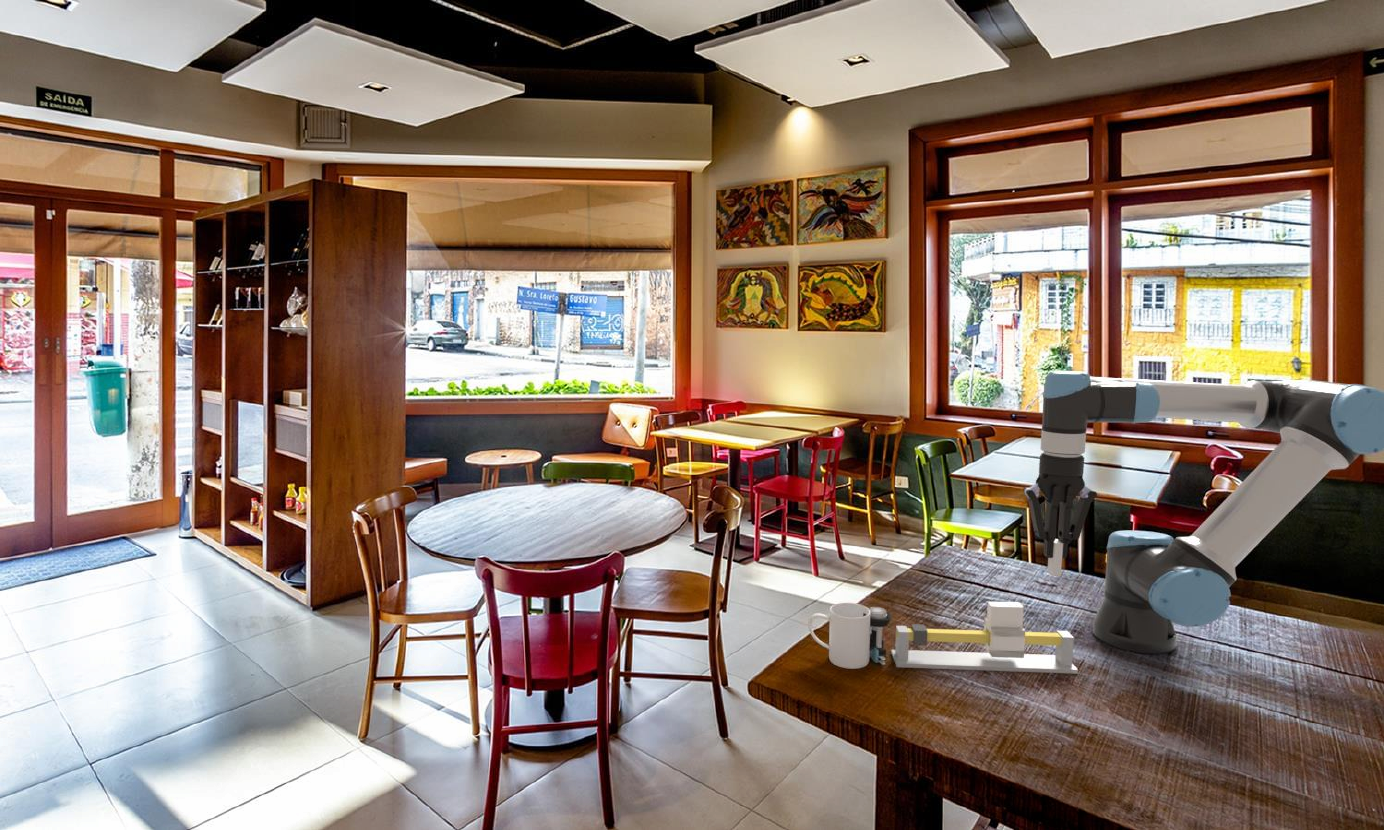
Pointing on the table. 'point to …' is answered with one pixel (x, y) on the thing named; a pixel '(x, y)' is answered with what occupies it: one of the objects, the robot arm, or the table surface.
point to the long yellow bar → (973, 636)
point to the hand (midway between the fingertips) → (1054, 573)
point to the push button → (877, 633)
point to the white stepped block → (1005, 629)
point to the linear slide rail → (984, 658)
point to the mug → (847, 635)
